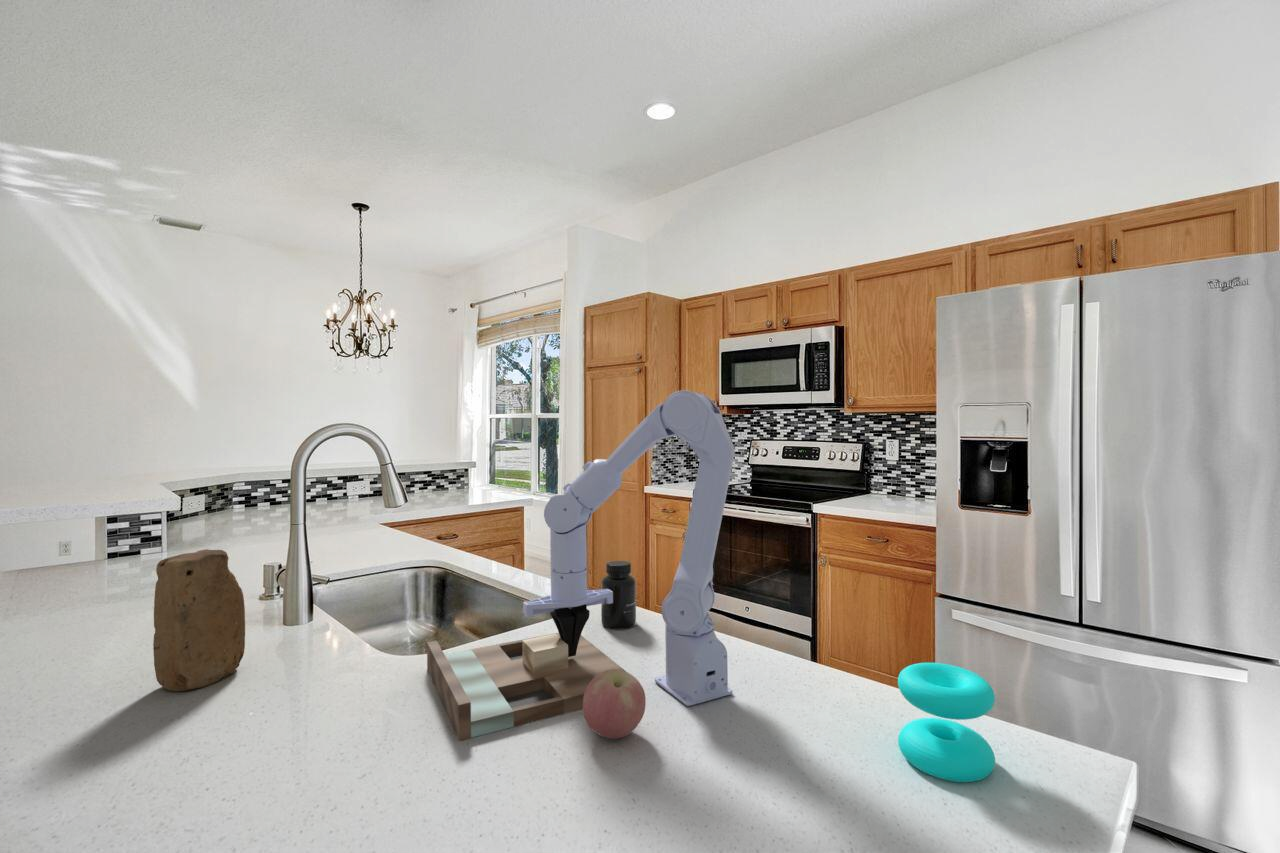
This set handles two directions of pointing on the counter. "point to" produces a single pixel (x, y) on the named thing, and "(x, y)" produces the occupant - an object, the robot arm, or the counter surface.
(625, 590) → the supplement bottle
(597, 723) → the apple
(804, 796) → the counter surface
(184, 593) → the block
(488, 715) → the board
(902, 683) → the donuts
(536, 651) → the beech block
